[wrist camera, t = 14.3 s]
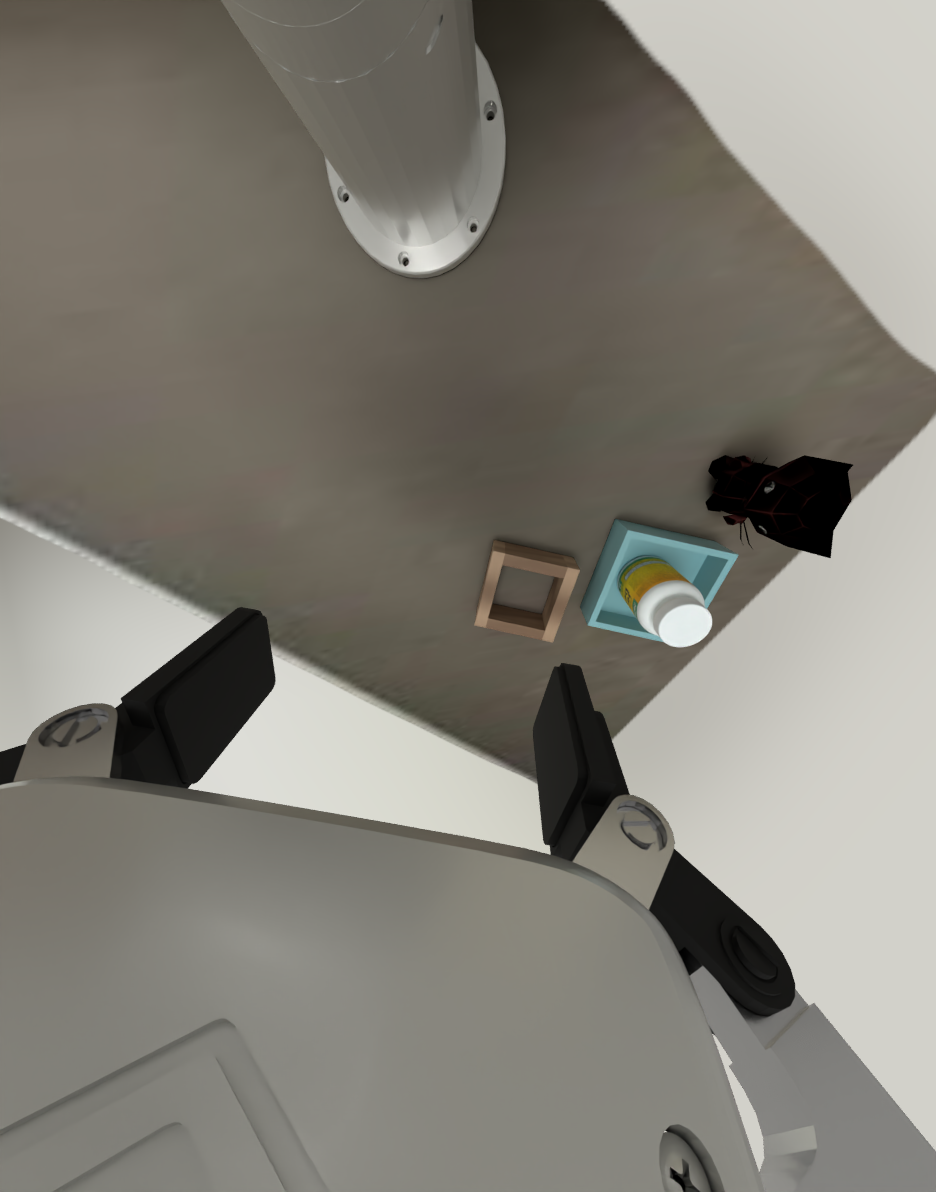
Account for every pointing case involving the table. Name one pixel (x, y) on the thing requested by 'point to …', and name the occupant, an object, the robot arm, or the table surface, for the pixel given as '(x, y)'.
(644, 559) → the supplement bottle
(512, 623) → the hollow wooden block
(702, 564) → the tray
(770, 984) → the robot arm
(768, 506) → the cat figurine
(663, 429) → the table surface
